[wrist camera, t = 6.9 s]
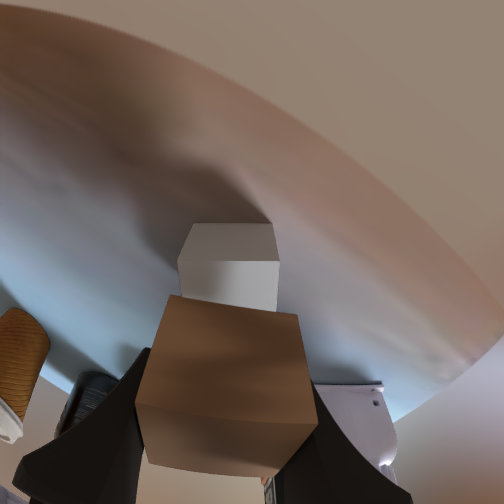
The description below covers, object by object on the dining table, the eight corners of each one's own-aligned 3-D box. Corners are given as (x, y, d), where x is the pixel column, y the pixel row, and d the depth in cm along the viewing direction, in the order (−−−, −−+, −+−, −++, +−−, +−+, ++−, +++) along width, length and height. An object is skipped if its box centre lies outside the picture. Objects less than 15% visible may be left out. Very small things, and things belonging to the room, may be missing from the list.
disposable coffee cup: (36, 293, 21) (-34, 387, 10) (76, 366, 26) (36, 457, 15) (-15, 294, 22) (-73, 365, 11) (23, 358, 26) (-18, 430, 15)
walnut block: (297, 314, 11) (318, 423, 7) (267, 388, 14) (273, 477, 9) (170, 294, 11) (134, 402, 7) (168, 374, 13) (148, 463, 9)
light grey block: (272, 222, 19) (279, 261, 14) (269, 288, 21) (274, 337, 17) (193, 222, 19) (176, 260, 14) (199, 288, 21) (188, 335, 16)
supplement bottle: (69, 376, 27) (32, 460, 16) (99, 362, 25) (59, 463, 14) (111, 410, 29) (87, 491, 18) (146, 400, 28) (123, 496, 17)
